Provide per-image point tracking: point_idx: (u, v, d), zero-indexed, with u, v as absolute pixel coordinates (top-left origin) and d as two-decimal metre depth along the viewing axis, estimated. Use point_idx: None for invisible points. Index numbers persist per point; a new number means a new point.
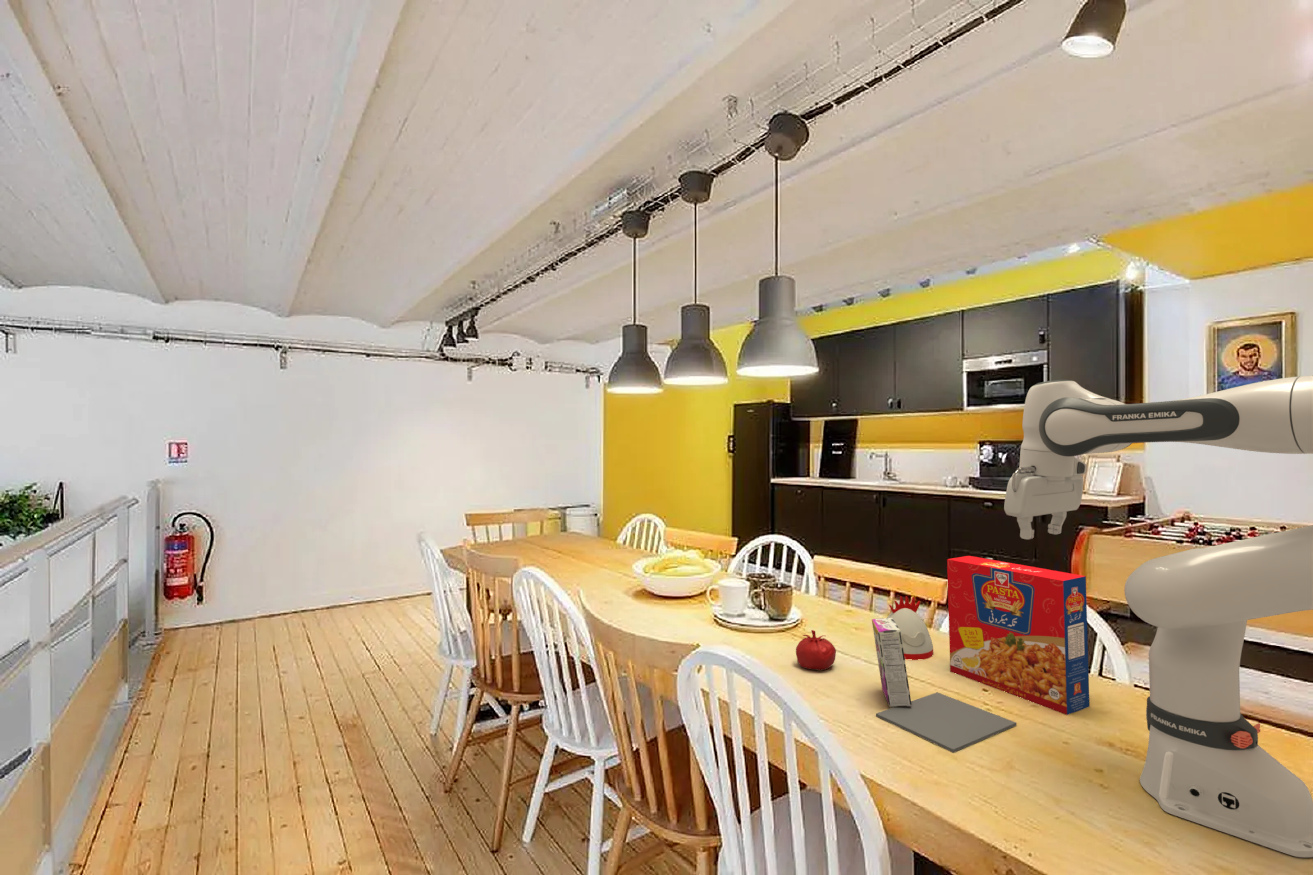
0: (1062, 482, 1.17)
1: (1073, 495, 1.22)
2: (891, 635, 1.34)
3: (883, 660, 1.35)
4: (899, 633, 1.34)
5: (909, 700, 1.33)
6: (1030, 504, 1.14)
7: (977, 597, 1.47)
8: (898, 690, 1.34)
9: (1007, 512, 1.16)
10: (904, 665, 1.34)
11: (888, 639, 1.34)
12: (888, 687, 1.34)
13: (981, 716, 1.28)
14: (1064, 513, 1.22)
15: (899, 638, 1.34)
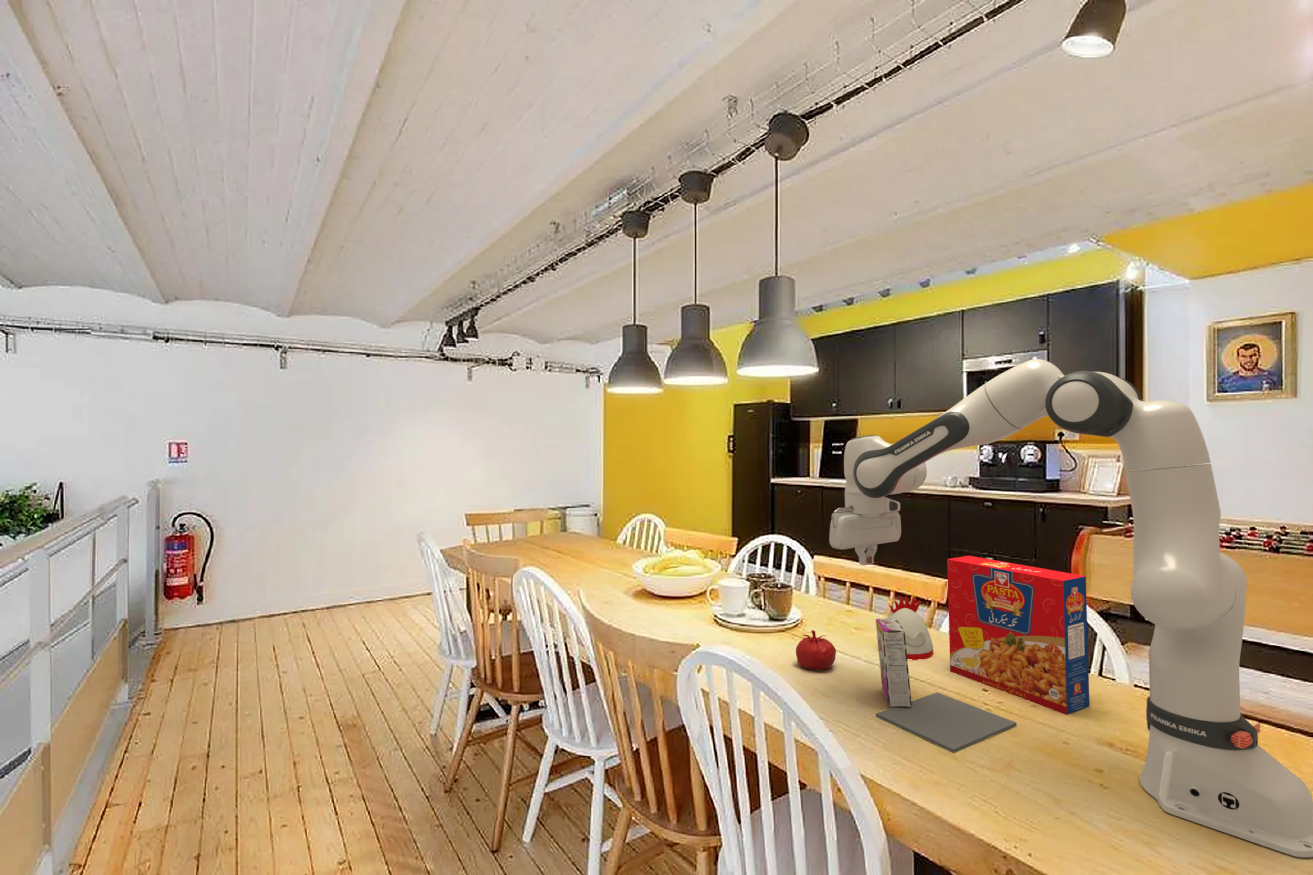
0: (876, 518, 1.43)
1: (892, 529, 1.47)
2: (895, 636, 1.34)
3: (886, 660, 1.34)
4: (903, 634, 1.34)
5: (909, 701, 1.33)
6: (847, 538, 1.40)
7: (977, 597, 1.47)
8: (899, 690, 1.33)
9: (831, 545, 1.41)
10: (906, 666, 1.33)
11: (892, 639, 1.34)
12: (889, 687, 1.34)
13: (981, 716, 1.28)
14: (874, 546, 1.45)
15: (903, 639, 1.34)
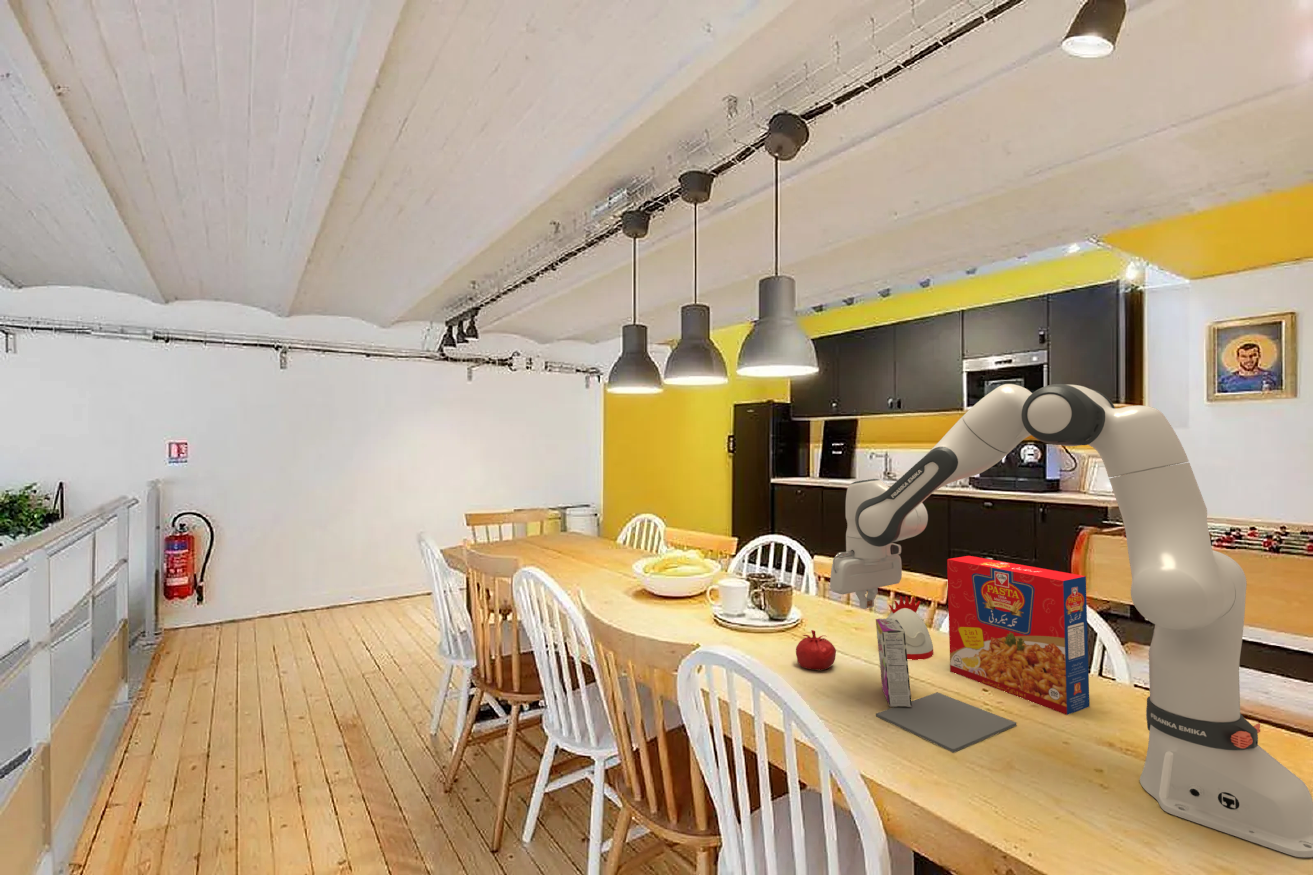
0: (877, 563, 1.43)
1: (893, 572, 1.47)
2: (895, 636, 1.34)
3: (886, 660, 1.34)
4: (903, 634, 1.34)
5: (909, 701, 1.33)
6: (848, 583, 1.40)
7: (977, 597, 1.47)
8: (899, 690, 1.33)
9: (832, 590, 1.41)
10: (906, 666, 1.33)
11: (892, 639, 1.34)
12: (889, 687, 1.34)
13: (981, 716, 1.28)
14: (875, 589, 1.45)
15: (903, 639, 1.34)
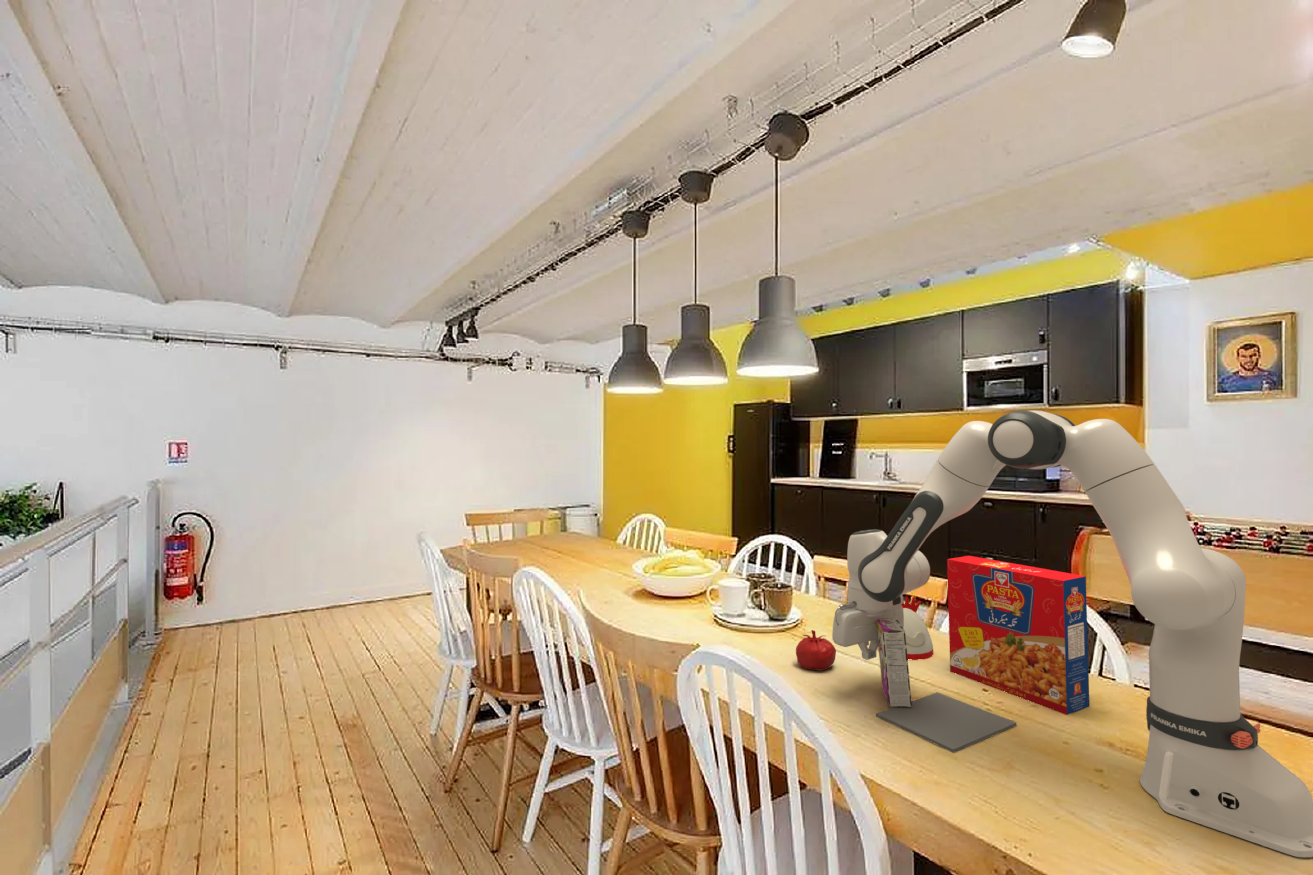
0: (879, 614, 1.42)
1: None
2: (895, 636, 1.34)
3: (886, 660, 1.34)
4: (904, 634, 1.34)
5: (910, 701, 1.33)
6: (850, 635, 1.40)
7: (977, 597, 1.47)
8: (899, 690, 1.33)
9: (834, 642, 1.41)
10: (907, 666, 1.33)
11: (892, 639, 1.34)
12: (889, 687, 1.34)
13: (981, 716, 1.28)
14: (877, 640, 1.45)
15: (903, 639, 1.34)
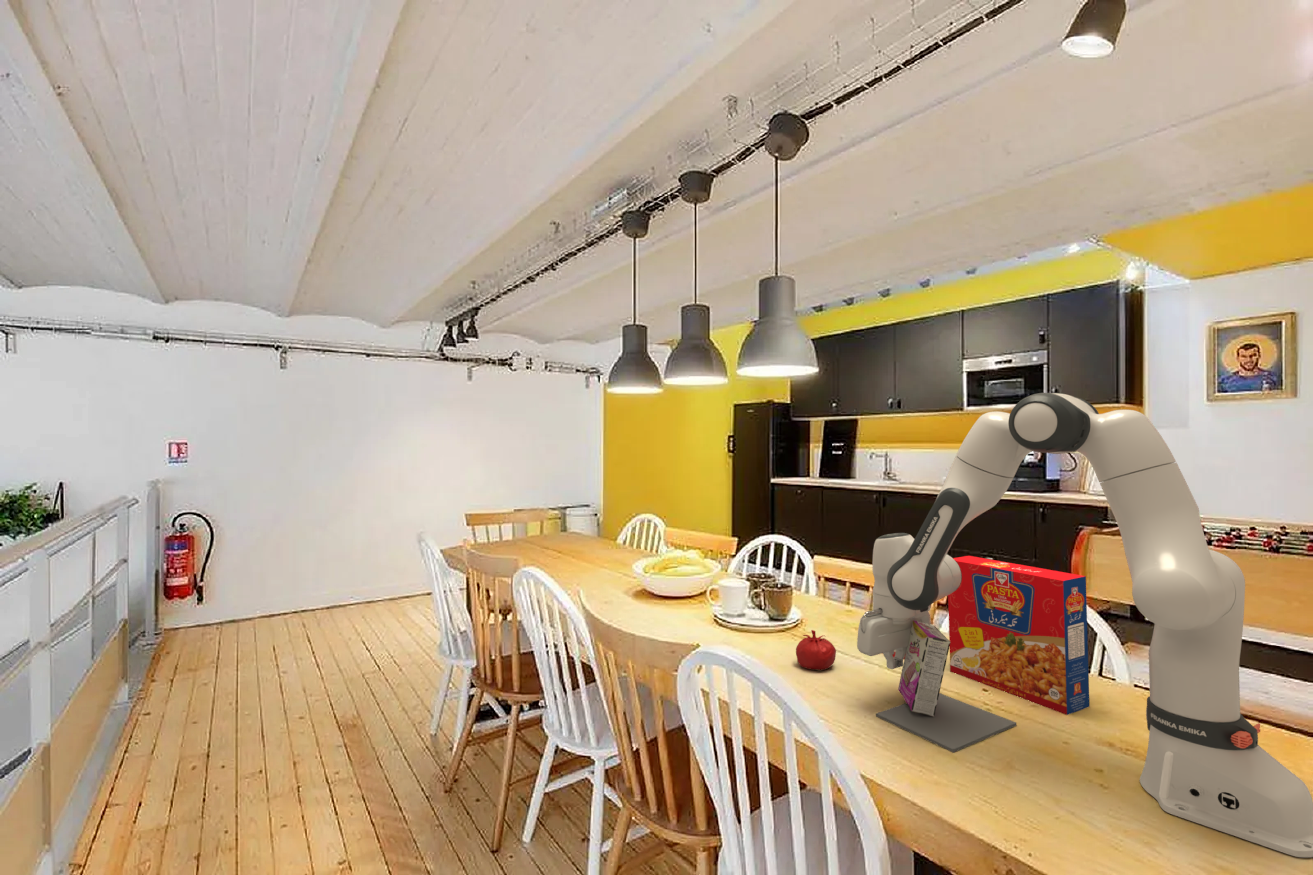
0: (906, 621, 1.36)
1: None
2: (939, 644, 1.28)
3: (922, 665, 1.29)
4: (948, 644, 1.28)
5: (934, 711, 1.28)
6: (876, 644, 1.34)
7: (977, 597, 1.47)
8: (927, 698, 1.28)
9: (859, 650, 1.35)
10: (941, 676, 1.28)
11: (935, 647, 1.28)
12: (917, 692, 1.29)
13: (981, 716, 1.28)
14: (904, 648, 1.39)
15: (946, 649, 1.28)
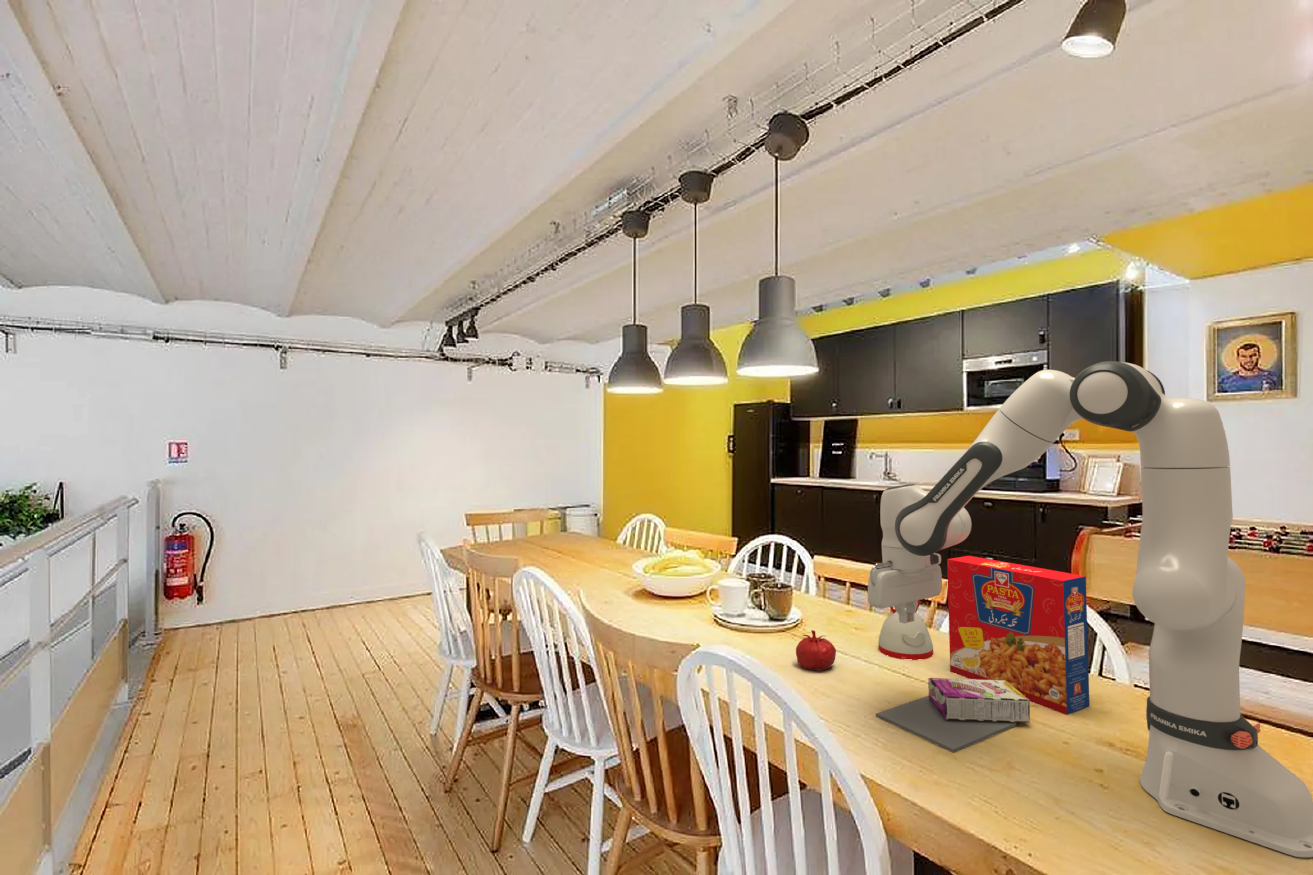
0: (916, 573, 1.33)
1: (933, 583, 1.38)
2: (1024, 712, 1.25)
3: (997, 699, 1.26)
4: (1026, 721, 1.25)
5: (952, 718, 1.26)
6: (887, 596, 1.31)
7: (977, 597, 1.47)
8: (964, 710, 1.26)
9: (870, 604, 1.32)
10: (990, 720, 1.26)
11: (1020, 709, 1.25)
12: (967, 699, 1.26)
13: None
14: (915, 602, 1.36)
15: (1021, 720, 1.25)
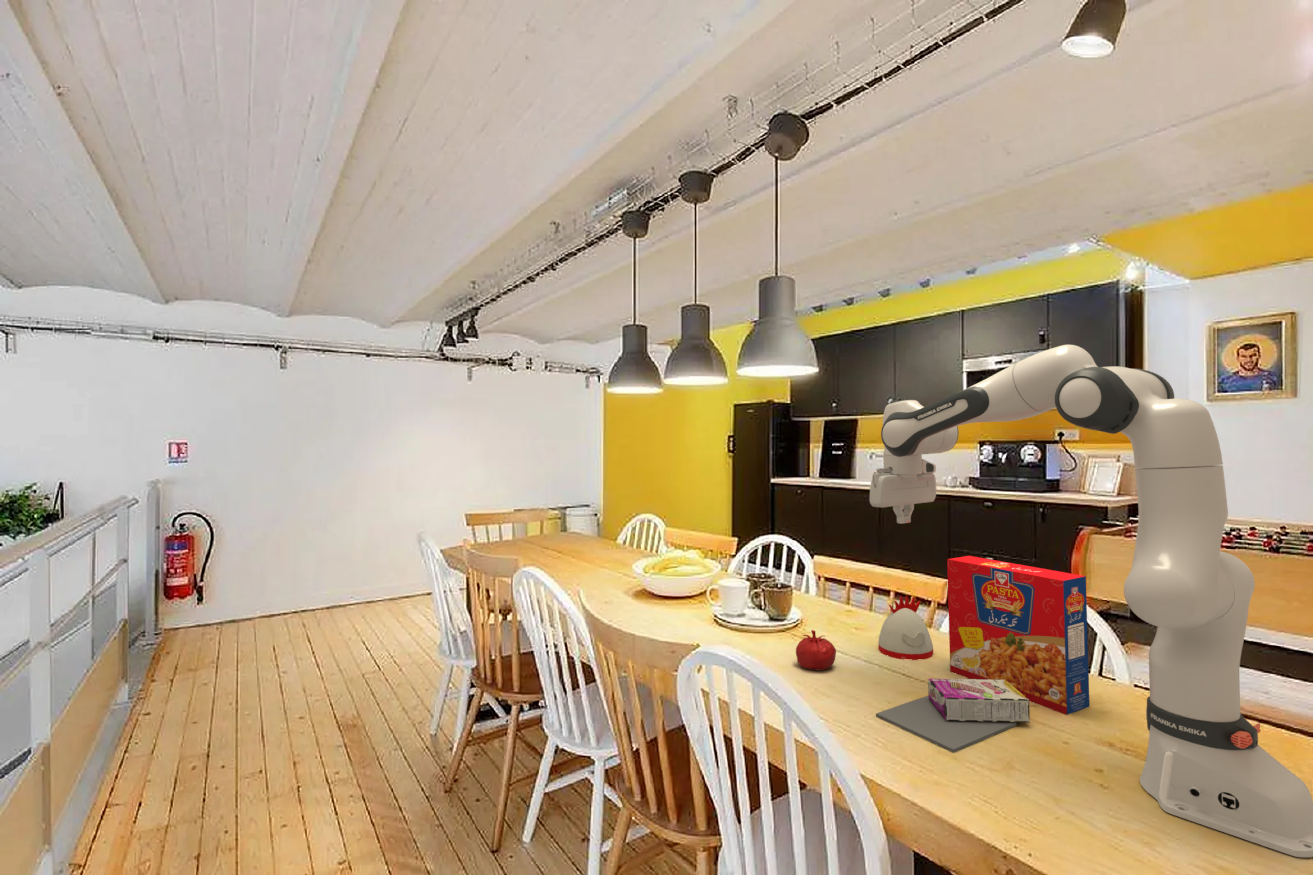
0: (913, 479, 1.50)
1: (928, 490, 1.54)
2: (1024, 712, 1.25)
3: (996, 700, 1.25)
4: (1026, 721, 1.25)
5: (952, 719, 1.26)
6: (887, 496, 1.47)
7: (977, 597, 1.47)
8: (964, 710, 1.26)
9: (872, 504, 1.49)
10: (990, 720, 1.25)
11: (1020, 709, 1.25)
12: (967, 700, 1.26)
13: None
14: (911, 505, 1.53)
15: (1021, 720, 1.25)
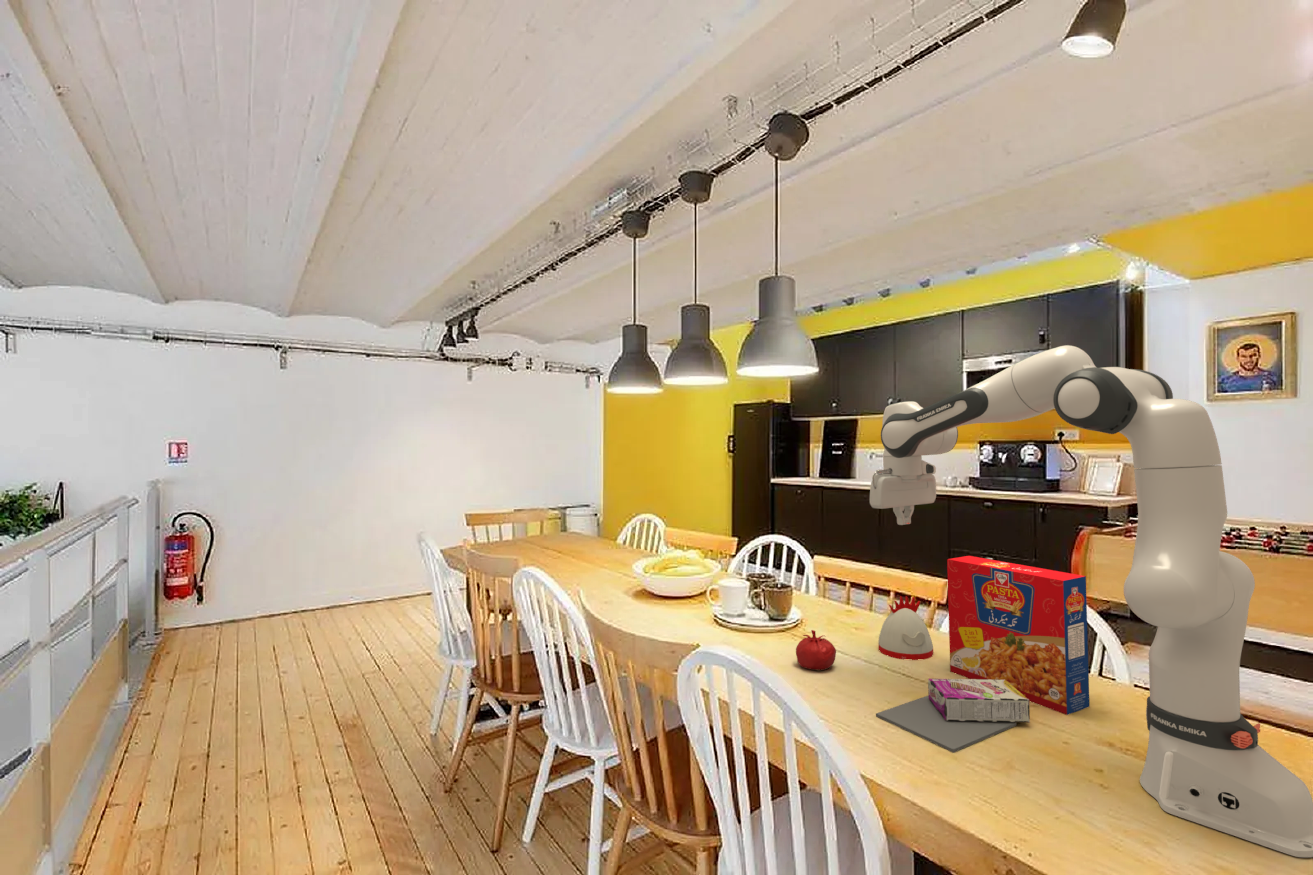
0: (913, 480, 1.50)
1: (928, 491, 1.55)
2: (1024, 712, 1.25)
3: (996, 700, 1.25)
4: (1026, 721, 1.25)
5: (952, 719, 1.26)
6: (887, 498, 1.47)
7: (977, 597, 1.47)
8: (964, 710, 1.26)
9: (872, 505, 1.49)
10: (990, 720, 1.25)
11: (1020, 709, 1.25)
12: (967, 700, 1.26)
13: None
14: (911, 507, 1.53)
15: (1021, 720, 1.25)
